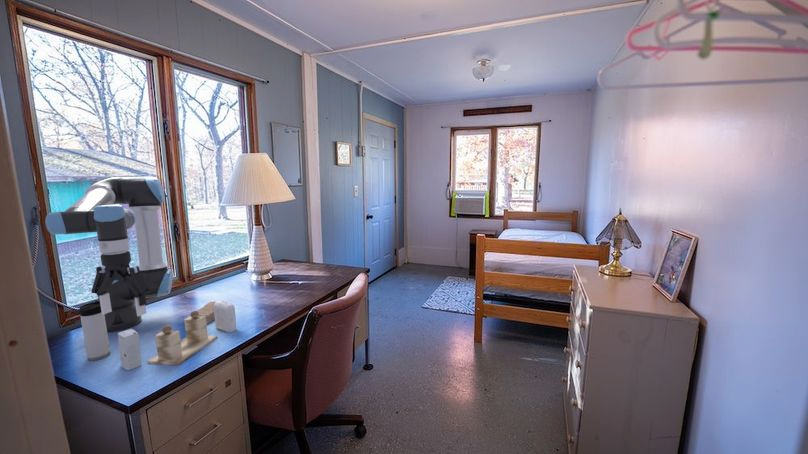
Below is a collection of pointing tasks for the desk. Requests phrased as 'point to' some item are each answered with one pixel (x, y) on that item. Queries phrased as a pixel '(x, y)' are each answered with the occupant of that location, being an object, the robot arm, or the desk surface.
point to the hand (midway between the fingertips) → (124, 313)
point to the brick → (207, 312)
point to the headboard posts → (181, 341)
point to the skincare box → (129, 349)
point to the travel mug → (94, 331)
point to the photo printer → (224, 316)
